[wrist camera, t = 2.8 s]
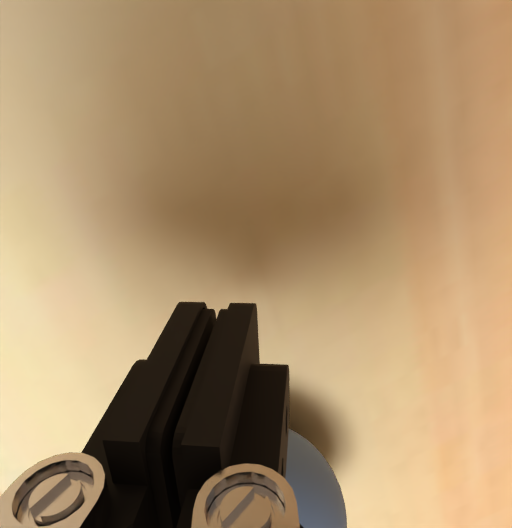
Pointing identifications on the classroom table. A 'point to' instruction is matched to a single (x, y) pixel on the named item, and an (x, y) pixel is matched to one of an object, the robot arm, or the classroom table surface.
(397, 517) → the classroom table surface
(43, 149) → the classroom table surface
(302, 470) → the ball
